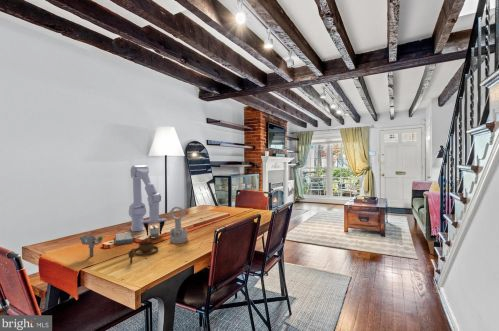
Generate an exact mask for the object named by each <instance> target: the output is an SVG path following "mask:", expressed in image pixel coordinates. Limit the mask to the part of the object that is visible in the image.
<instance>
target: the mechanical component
mask: <svg viewBox="0 0 499 331" xmlns="http://www.w3.org/2000/svg"><path fill="white" fill-rule="evenodd" d="M79 238H80V242H81V244H82V245H87V246H88V247H87V248H88V249H89V258H92V257H93V256H94V248H95V246H97V245H99V244H101V243H102V240H103V236H98V237H97V238H96V236H95V235H87V234H86V235H85V234H84V235H82V236H80V237H79Z"/></svg>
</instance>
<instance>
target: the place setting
mask: <svg viewBox="0 0 499 331" xmlns="http://www.w3.org/2000/svg"><path fill="white" fill-rule="evenodd" d="M153 249H155V250H154V251H152V250H153ZM138 251H139V252H142V253H139V252H138ZM151 251H152V252H151ZM158 251H159V246H156V245H154V242H153V241H143V242H140V243H139V244H138V247H136V248H131V249H130V250H129V251H128V252H127V253H128V258H130V260H129V264H133V257H134V256H140V257H141V256H142V257H143V256H144V257H145V256H151V255H155V254H156V253H157V252H158ZM145 260H148V258H145Z"/></svg>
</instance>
